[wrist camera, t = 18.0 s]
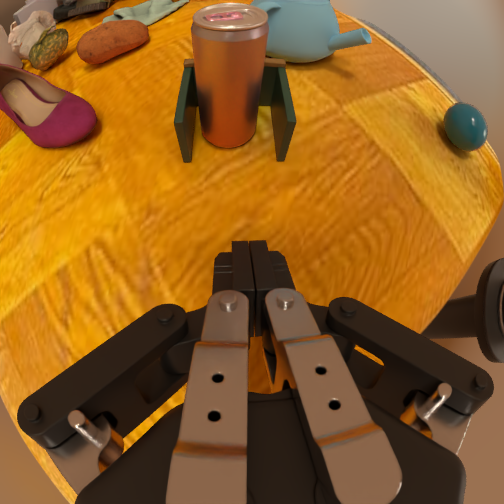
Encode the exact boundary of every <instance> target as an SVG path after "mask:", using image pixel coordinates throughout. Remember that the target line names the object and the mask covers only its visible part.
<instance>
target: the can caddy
mask: <svg viewBox="0 0 504 504" xmlns="http://www.w3.org/2000/svg"><path fill="white" fill-rule="evenodd" d="M285 66H286V62H285V59H275V58H265V61H264V69H263V76H262V83H261V90H260V98H259V105H264V106H270V107H271V115H272V123H273V131H274V139H275V148H276V157H277V161H284V160H285V157H286V154H287V150H288V147H289V144H290V141H291V138H292V134H293V131H294V128H295V125H296V117H295V112H294V107H293V102H292V97H291V93H290V88H289V83H288V79H287V74H286V70H285ZM196 106H199V105H198V96H197V87H196V77H195V67H194V59H185V61H184V72H183V76H182V81H181V86H180V91H179V96H178V102H177V107H176V113H175V119H174V125H175V130H176V134H177V138H178V142H179V146H180V150H181V154H182V158H183V161H184V163H185V162H191V156H192V144H193V133H194V123H195V114H196Z"/></svg>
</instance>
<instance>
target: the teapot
mask: <svg viewBox="0 0 504 504" xmlns="http://www.w3.org/2000/svg"><path fill="white" fill-rule="evenodd" d="M250 5H252V6H255V7H258V8H260V9H262V10H264V11H265V12H266V13H267V15H268V25H269V33H268V40H267V47H266V54H265V55H267V56H270V57H272V58H276V59H285V61H288V62H292V63H295V62H313V61H317V60H320V59H322V58H325V57H327V56H329V55H331V54H332V53H334V52H335V50H339V49H344V48H348V47H353V46H359V45H364V44H370V43H371V37H370V35H369V33H368V31H367V30H366V29H364V28H361V29H357V30H353V31H349V32H346V33H342V34H339V24H338V21H337V17H336V15H335V12H334V10H333V7H332V6H331V4H330V0H254V1H253V2H252V3H251V4H250Z"/></svg>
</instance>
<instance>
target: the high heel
mask: <svg viewBox="0 0 504 504" xmlns="http://www.w3.org/2000/svg"><path fill="white" fill-rule="evenodd" d="M0 109H1V110H2V111H4V112H5V113H6V114H7V115H8V116H9V117H10V118H11V119H12V120H13V121H14V122H15V123H16V124H17V125H18V126H19V127H20V128H21V129H22V130H23V131H24V132H25V134H26V135H27V136H28V137H29V138H30V139H31V140H32V141H33V142H34V143H35V144H36V145H38V146H40V147H44V148H57V147H63V146H68V145H71V144H73V143H76V142H78V141H80V140H82V139H83V138H85V137H86V136H87V135H89V134H90V133H91V131H92V130H93V129H94V127H95V126H96V123H97V117H96V113H95V111H94V109H93V108H92V106H91V105H90V104H89V103H88V102H86V101H85V100H84V99H82V98H80V97H79V96H76V95H74V94H72V93H70V92H68V91H65V90H63V89H60V88H58V87H56V86H54V85H52V84H50V83H49V82H48V81H47V80H45V79H44V78H42V77H40V76H38V75H35V74H33V73H30V72H28V71H26V70H23V69H21V68H18V67H14V66H11V65H7V64H0Z"/></svg>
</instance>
